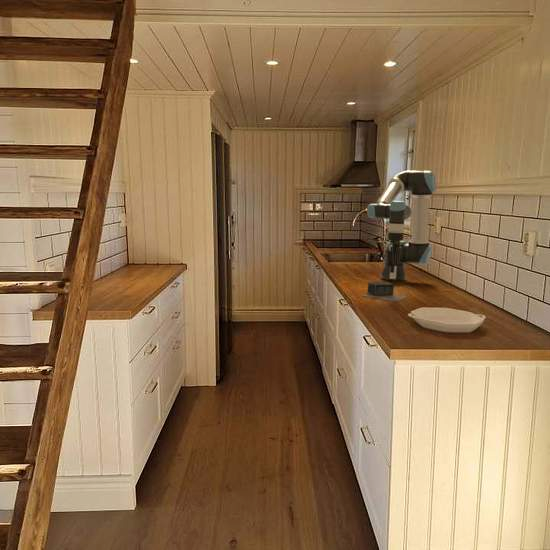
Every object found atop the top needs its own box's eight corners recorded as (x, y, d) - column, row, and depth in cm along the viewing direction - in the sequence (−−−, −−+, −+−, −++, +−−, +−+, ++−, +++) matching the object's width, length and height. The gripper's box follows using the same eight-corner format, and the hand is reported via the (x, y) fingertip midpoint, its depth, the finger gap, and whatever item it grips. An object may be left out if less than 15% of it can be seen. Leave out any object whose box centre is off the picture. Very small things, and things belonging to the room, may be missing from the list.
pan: (419, 334, 175) (420, 323, 175) (396, 317, 200) (397, 306, 200) (500, 335, 178) (502, 324, 177) (468, 317, 203) (469, 307, 202)
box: (385, 292, 250) (367, 292, 247) (386, 281, 249) (368, 281, 246) (393, 295, 242) (374, 295, 239) (394, 284, 242) (375, 284, 239)
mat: (374, 292, 250) (374, 291, 250) (407, 297, 239) (407, 297, 239) (362, 296, 239) (362, 295, 239) (396, 302, 228) (396, 301, 228)
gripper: (394, 231, 247) (391, 276, 251) (383, 232, 237) (380, 279, 241) (408, 232, 242) (404, 278, 246) (397, 233, 232) (394, 281, 236)
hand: (392, 278), depth 244 cm, fingers closed
